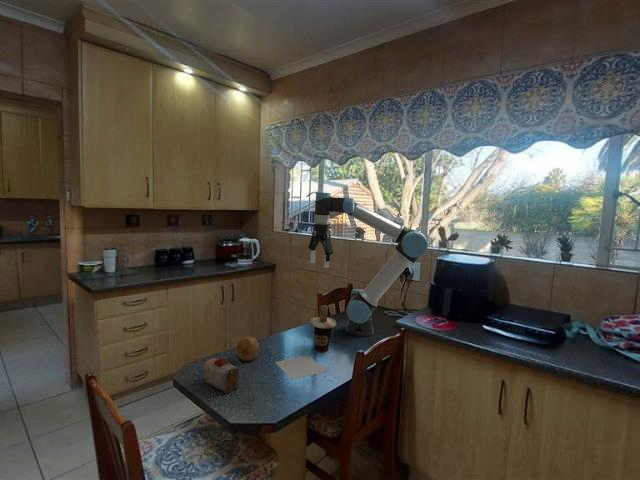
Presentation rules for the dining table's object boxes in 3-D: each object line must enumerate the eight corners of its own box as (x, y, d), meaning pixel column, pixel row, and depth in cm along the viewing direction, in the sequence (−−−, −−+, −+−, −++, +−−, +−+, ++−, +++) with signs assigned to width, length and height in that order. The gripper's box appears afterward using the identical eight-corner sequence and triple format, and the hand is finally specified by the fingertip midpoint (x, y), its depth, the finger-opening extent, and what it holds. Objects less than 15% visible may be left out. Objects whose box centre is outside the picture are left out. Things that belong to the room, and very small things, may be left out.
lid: (327, 318, 168) (328, 301, 167) (341, 326, 158) (342, 308, 157) (305, 321, 162) (306, 304, 161) (319, 329, 152) (320, 311, 151)
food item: (200, 383, 128) (200, 357, 126) (217, 374, 134) (218, 350, 133) (225, 396, 120) (225, 368, 119) (242, 386, 127) (243, 360, 126)
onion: (239, 353, 153) (239, 332, 152) (261, 355, 153) (262, 333, 152) (232, 364, 143) (233, 340, 142) (256, 365, 143) (257, 342, 142)
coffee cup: (328, 355, 156) (330, 327, 155) (310, 353, 158) (312, 325, 157) (332, 348, 165) (333, 321, 164) (315, 345, 166) (316, 319, 165)
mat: (307, 356, 154) (308, 355, 154) (327, 372, 141) (327, 371, 141) (274, 363, 146) (274, 362, 146) (291, 381, 132) (291, 379, 132)
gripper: (303, 221, 183) (301, 261, 185) (328, 225, 162) (325, 270, 164) (315, 221, 187) (313, 260, 189) (341, 225, 166) (339, 269, 168)
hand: (319, 265), depth 177 cm, fingers open, 13 cm apart
